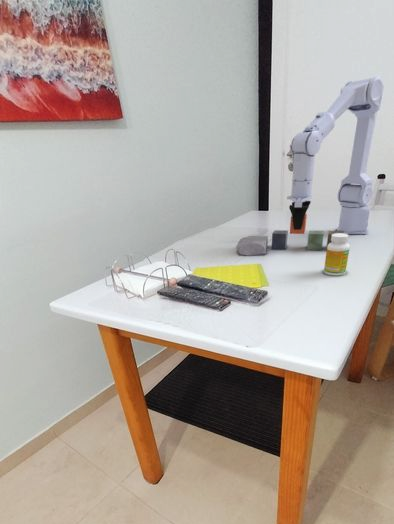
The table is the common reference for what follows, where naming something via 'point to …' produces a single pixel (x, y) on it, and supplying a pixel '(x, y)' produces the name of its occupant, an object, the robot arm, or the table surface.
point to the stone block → (252, 245)
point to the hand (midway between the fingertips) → (298, 227)
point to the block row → (313, 239)
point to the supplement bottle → (337, 254)
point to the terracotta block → (301, 228)
